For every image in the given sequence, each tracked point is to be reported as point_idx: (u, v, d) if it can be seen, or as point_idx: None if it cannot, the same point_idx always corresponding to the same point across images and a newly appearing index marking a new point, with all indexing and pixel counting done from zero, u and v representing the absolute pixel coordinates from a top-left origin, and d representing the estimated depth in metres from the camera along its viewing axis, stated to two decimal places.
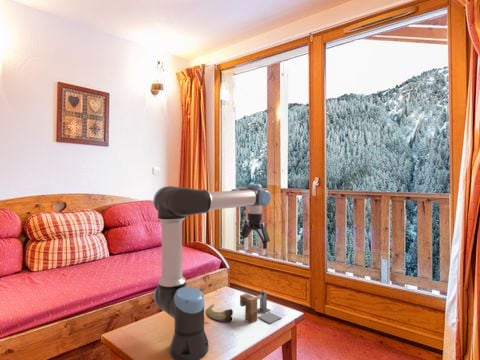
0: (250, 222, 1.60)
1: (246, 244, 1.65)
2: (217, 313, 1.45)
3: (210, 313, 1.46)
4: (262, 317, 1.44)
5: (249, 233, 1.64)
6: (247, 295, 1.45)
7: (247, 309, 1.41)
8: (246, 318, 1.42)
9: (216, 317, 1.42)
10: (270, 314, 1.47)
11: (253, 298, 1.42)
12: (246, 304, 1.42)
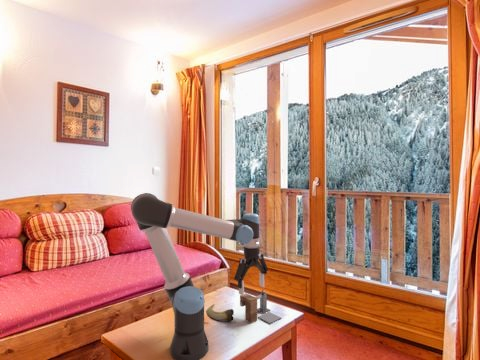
0: None
1: (261, 280, 1.46)
2: (218, 313, 1.45)
3: (211, 313, 1.47)
4: (262, 317, 1.44)
5: (261, 269, 1.44)
6: (247, 295, 1.45)
7: (247, 309, 1.41)
8: (246, 318, 1.42)
9: (217, 317, 1.42)
10: (270, 314, 1.47)
11: (253, 298, 1.42)
12: (246, 304, 1.42)
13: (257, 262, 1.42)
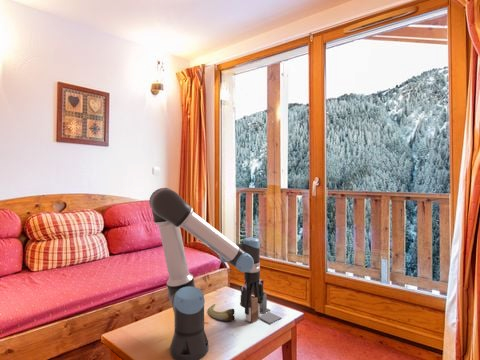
0: None
1: None
2: (219, 313, 1.45)
3: (212, 313, 1.47)
4: (262, 317, 1.44)
5: (257, 297, 1.43)
6: None
7: None
8: None
9: (218, 317, 1.43)
10: (270, 314, 1.47)
11: (253, 297, 1.42)
12: None
13: (256, 287, 1.42)
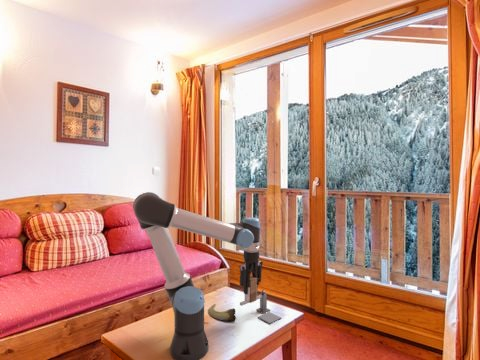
0: None
1: None
2: (220, 313, 1.46)
3: (213, 313, 1.47)
4: (262, 317, 1.44)
5: None
6: None
7: None
8: None
9: (219, 317, 1.43)
10: (270, 314, 1.47)
11: (252, 278, 1.41)
12: None
13: (255, 267, 1.41)
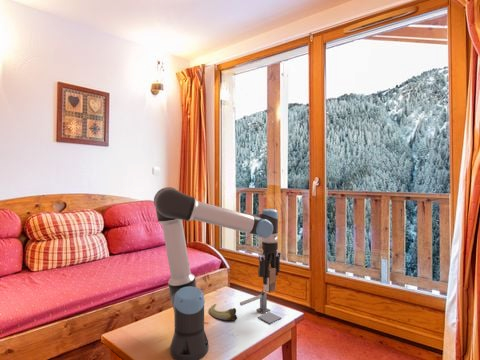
0: None
1: None
2: (221, 312, 1.46)
3: (214, 313, 1.47)
4: (262, 317, 1.44)
5: None
6: None
7: None
8: None
9: (220, 316, 1.43)
10: (270, 314, 1.47)
11: (271, 268, 1.43)
12: None
13: (274, 258, 1.43)
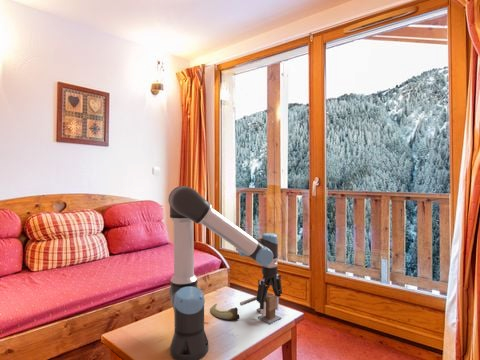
0: None
1: (275, 303, 1.47)
2: (223, 312, 1.46)
3: (216, 312, 1.47)
4: (262, 317, 1.44)
5: (276, 291, 1.45)
6: None
7: None
8: None
9: (223, 316, 1.43)
10: None
11: (271, 295, 1.44)
12: (264, 301, 1.44)
13: (274, 282, 1.43)
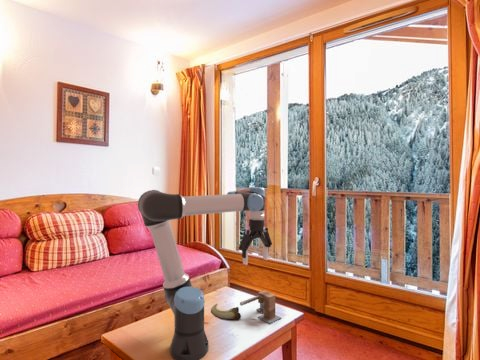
0: None
1: (264, 253, 1.50)
2: (224, 312, 1.47)
3: (217, 312, 1.47)
4: (262, 317, 1.44)
5: (265, 242, 1.48)
6: (265, 292, 1.47)
7: (265, 306, 1.43)
8: (264, 315, 1.44)
9: (224, 316, 1.44)
10: None
11: (271, 295, 1.44)
12: (264, 301, 1.44)
13: (261, 234, 1.45)
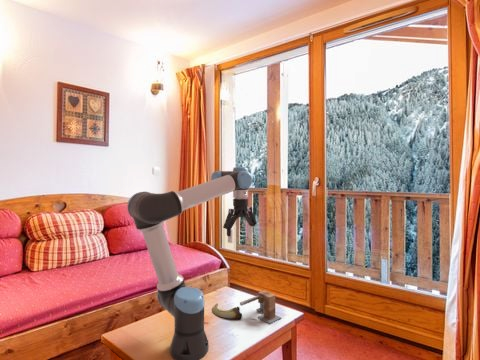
0: None
1: (249, 232, 1.53)
2: (225, 311, 1.47)
3: (218, 312, 1.48)
4: (262, 317, 1.44)
5: (249, 221, 1.51)
6: (265, 292, 1.47)
7: (265, 306, 1.43)
8: (264, 315, 1.44)
9: (226, 315, 1.44)
10: None
11: (271, 295, 1.44)
12: (264, 301, 1.44)
13: (246, 213, 1.48)
